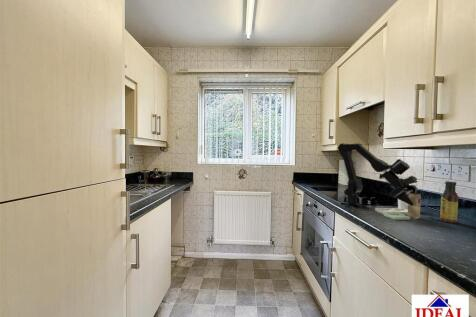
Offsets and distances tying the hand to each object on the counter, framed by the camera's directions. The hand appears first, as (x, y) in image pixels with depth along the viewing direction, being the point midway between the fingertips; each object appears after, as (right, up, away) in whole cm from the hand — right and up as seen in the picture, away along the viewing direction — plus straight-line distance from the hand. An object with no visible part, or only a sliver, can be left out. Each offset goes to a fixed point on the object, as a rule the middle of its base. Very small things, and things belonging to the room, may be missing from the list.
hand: (416, 204), depth 121 cm
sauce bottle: (+12, -8, -5) cm, 15 cm away
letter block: (-1, -7, +1) cm, 7 cm away
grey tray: (0, -7, +10) cm, 12 cm away
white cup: (+7, -7, +19) cm, 21 cm away
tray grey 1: (-9, -7, +10) cm, 15 cm away
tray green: (-11, -7, -1) cm, 13 cm away
